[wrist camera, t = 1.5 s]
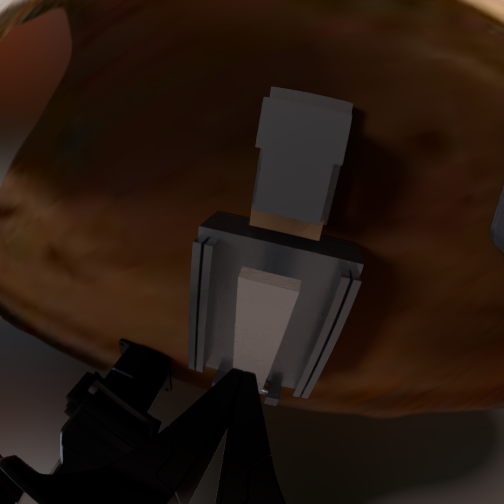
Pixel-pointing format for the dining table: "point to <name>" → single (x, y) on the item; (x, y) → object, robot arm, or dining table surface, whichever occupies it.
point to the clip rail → (319, 102)
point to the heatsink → (281, 263)
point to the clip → (298, 157)
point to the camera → (498, 225)
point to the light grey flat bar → (261, 319)
